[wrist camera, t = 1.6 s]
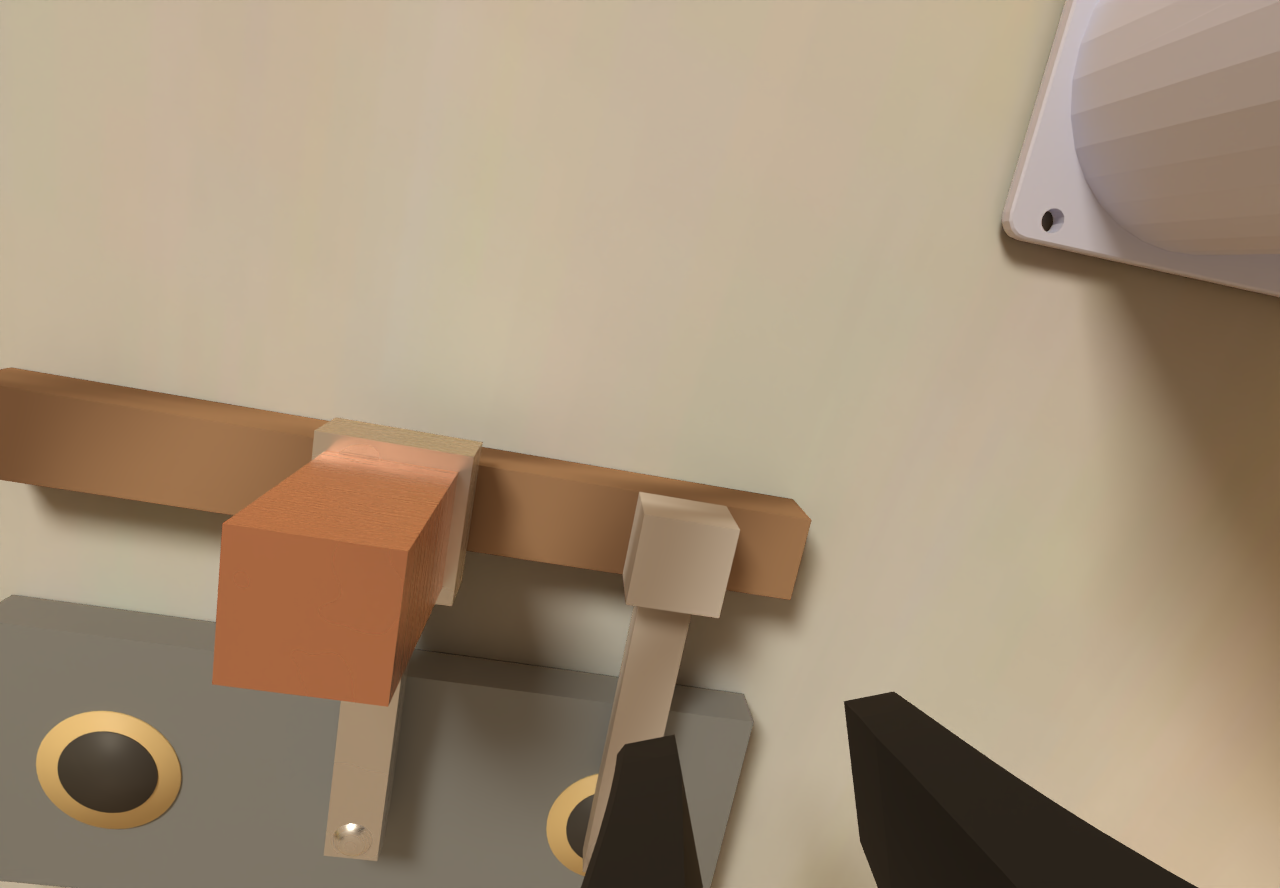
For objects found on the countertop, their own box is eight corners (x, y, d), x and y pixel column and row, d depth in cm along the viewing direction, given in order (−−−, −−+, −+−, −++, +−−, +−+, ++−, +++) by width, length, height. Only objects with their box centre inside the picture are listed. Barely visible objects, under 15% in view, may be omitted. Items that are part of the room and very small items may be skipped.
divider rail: (793, 499, 18) (832, 545, 15) (710, 823, 20) (731, 918, 17) (11, 367, 16) (-119, 390, 13) (13, 743, 18) (-99, 836, 15)
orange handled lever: (484, 438, 15) (429, 531, 10) (425, 835, 18) (354, 1081, 12) (340, 414, 15) (205, 496, 10) (300, 822, 17) (171, 1069, 12)
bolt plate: (743, 693, 19) (754, 724, 18) (688, 907, 21) (695, 949, 19) (12, 594, 17) (-34, 621, 16) (13, 840, 19) (-28, 882, 17)
